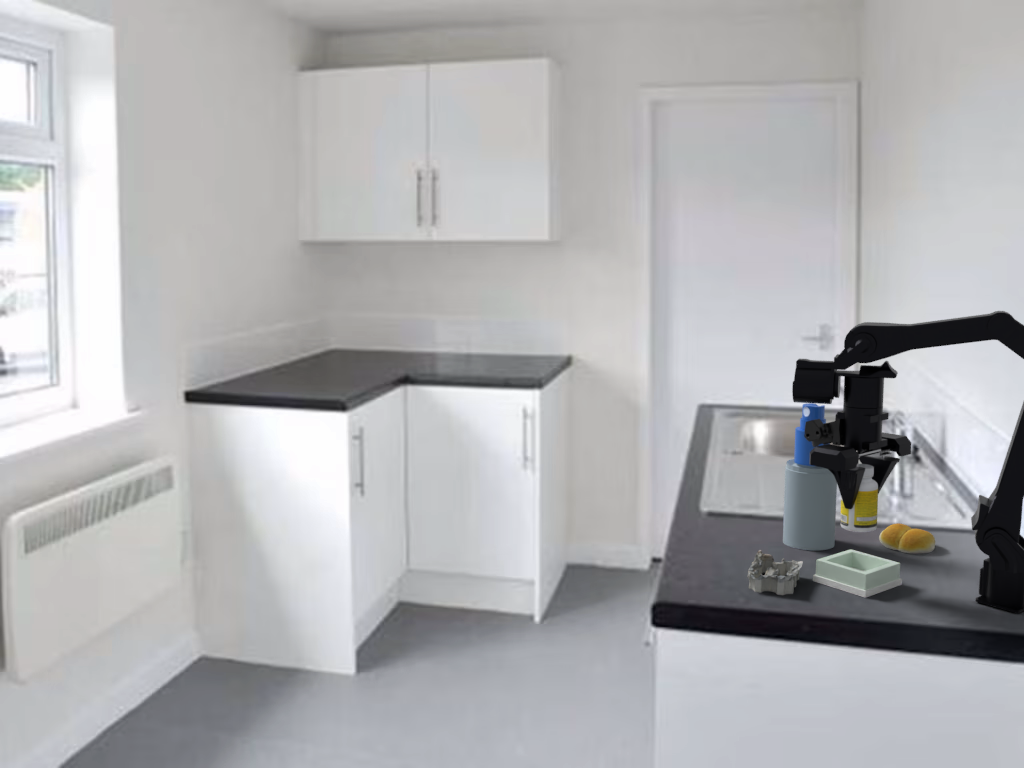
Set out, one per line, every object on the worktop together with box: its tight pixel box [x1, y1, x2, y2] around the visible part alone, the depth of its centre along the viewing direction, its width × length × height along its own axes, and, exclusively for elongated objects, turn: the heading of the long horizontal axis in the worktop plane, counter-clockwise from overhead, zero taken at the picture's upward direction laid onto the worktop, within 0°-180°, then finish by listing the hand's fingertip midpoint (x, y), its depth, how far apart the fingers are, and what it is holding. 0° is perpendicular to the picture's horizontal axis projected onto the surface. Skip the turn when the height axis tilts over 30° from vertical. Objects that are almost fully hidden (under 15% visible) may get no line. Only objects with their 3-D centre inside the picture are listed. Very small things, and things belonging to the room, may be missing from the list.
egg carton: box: [747, 549, 804, 596], centre depth 161 cm, size 11×8×4 cm
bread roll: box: [878, 523, 936, 555], centre depth 179 cm, size 8×9×4 cm
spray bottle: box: [782, 403, 838, 551], centre depth 180 cm, size 9×9×25 cm
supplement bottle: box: [839, 463, 879, 533], centre depth 157 cm, size 5×5×10 cm
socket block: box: [812, 549, 903, 598], centre depth 160 cm, size 10×10×4 cm
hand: (859, 505), depth 158 cm, fingers closed on supplement bottle, 5 cm apart
